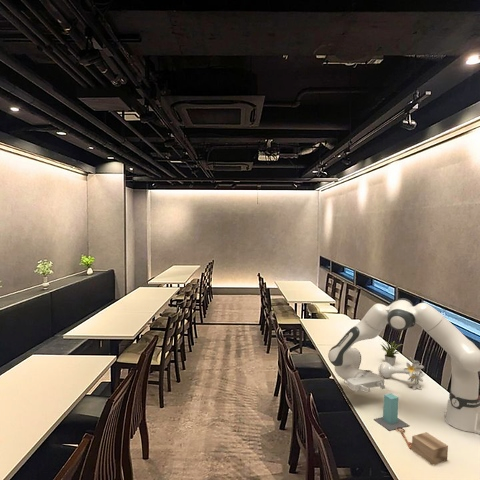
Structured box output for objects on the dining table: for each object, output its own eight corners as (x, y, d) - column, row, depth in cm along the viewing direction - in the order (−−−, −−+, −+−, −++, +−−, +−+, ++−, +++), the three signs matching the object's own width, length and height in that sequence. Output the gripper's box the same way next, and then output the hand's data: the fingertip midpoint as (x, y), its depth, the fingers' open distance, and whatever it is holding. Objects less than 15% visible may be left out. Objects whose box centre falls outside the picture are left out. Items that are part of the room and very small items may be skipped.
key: (420, 451, 153) (408, 430, 168) (420, 449, 153) (408, 428, 168) (405, 448, 153) (394, 427, 168) (405, 446, 153) (395, 425, 168)
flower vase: (380, 389, 224) (422, 393, 206) (372, 360, 224) (413, 361, 206) (390, 379, 233) (430, 383, 214) (381, 351, 233) (421, 352, 215)
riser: (425, 446, 156) (426, 432, 155) (447, 460, 146) (447, 445, 146) (411, 450, 153) (412, 435, 152) (432, 464, 143) (433, 449, 143)
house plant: (399, 361, 253) (400, 338, 252) (406, 369, 239) (407, 344, 238) (377, 360, 254) (378, 336, 253) (383, 368, 240) (384, 343, 239)
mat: (392, 415, 180) (393, 414, 180) (409, 426, 171) (409, 425, 171) (373, 419, 175) (373, 419, 175) (389, 431, 166) (389, 430, 166)
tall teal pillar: (389, 417, 177) (391, 393, 176) (397, 422, 173) (398, 397, 172) (382, 419, 175) (384, 394, 175) (390, 424, 171) (391, 399, 171)
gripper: (341, 375, 192) (360, 386, 179) (372, 369, 200) (392, 379, 187) (341, 387, 192) (359, 398, 180) (372, 381, 200) (391, 392, 187)
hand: (376, 389), depth 183 cm, fingers open, 8 cm apart
